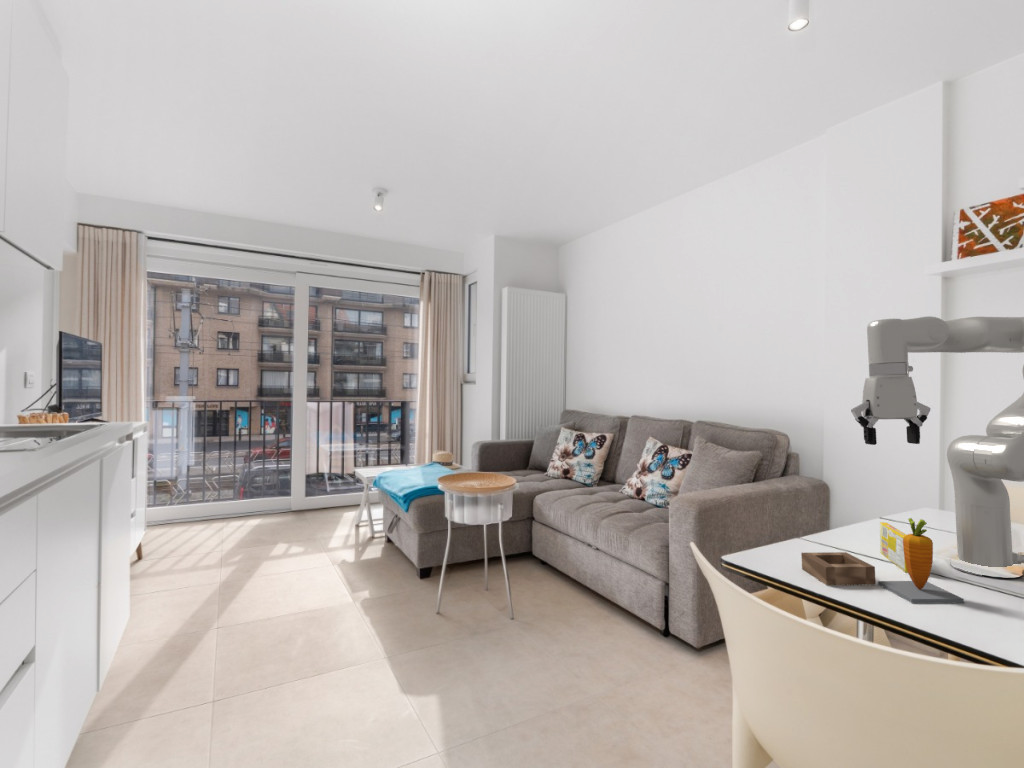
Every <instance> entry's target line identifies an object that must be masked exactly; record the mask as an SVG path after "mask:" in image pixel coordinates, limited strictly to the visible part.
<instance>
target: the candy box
mask: <svg viewBox="0 0 1024 768" xmlns="http://www.w3.org/2000/svg"><path fill="white" fill-rule="evenodd" d="M906 535H907V534H906V533H905V532H903V531H901V530H899V529H898V528H896V527H894V526H893V525H891V524H889V523H888V522H881V521H879V543H880V544H879V550H880V551H879V553H880V554H881V555H883V556H884V557H885V558H886V559H888V560H889V561H890V562H892V563H893V564H894V565H895V566H896V567H898V568H899V569H900V570H901V571H903V572H904V573H905V574H909V573H908V570H907V567H906V563H905V558H904V548H903V538H904V537H905V536H906Z"/></svg>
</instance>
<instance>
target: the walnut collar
mask: <svg viewBox="0 0 1024 768" xmlns="http://www.w3.org/2000/svg"><path fill="white" fill-rule="evenodd" d="M800 556H801V569H802V570H803V572H805V573H807V574H809V575H810V576H812V577H813V578H814V579H816V580H818V581H820V582H821V583H823V584H824V585H825V586H876V585H877V584H876V583H877V582H876V567H875V566H874V565H872V564H870V563H868V562H866V561H864V560H862V559H860V558H858V557H857V556H854V555H852V554H851V553H848V552H846V551H843V552H841V551H839V552H838V551H837V552H834V551H831V552H829V551H827V552H825V551H824V552H801V555H800Z"/></svg>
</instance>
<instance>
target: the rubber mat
mask: <svg viewBox="0 0 1024 768" xmlns="http://www.w3.org/2000/svg"><path fill="white" fill-rule="evenodd" d="M877 583H878V586H880V587H881V588H884V589H885V590H888V591H889V592H891V593H892V594H895V595H896V596H899V597H900V598H901V599H903V600H905V601H907V602H909V603H911V604H964V602H965V599H964V598H963V597H960V596H959V595H957V594H954V593H952V592H950V591H948V590H945V589H944V588H941V587H939V586H937V585H935V584H934V583H931V582H929V581H927V582H926V584H925V585H924V587H923V588H922V589H920V590H919V589H918V588H917V587H916V586H915V585H914V583H913V581H912V580H878V581H877Z"/></svg>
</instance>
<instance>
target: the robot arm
mask: <svg viewBox="0 0 1024 768" xmlns="http://www.w3.org/2000/svg"><path fill="white" fill-rule="evenodd" d="M866 327H867V328H866V335H867V337H866V338H867V354H868V375H869V376H868V377H866V378H865V380H864V384H863V389H862V390H863V391H862V401H861V402H862V403H861V404H859V405H857V406H855V407H853V408H851V410H850V411H851V412H850V413H851V414H852V416H853V417H854V420H855V421H856V422H857V423H858V424H859V425H860V427H862V428H863V441H864V443H865V444H866V445H872V446H873V445H877V444H878V443H877V441H878V440H877V429H876V427H874V426H875V425H876V423H877V422H878V421H879V420H904V422H906V424H908V426H906V428H905V429H906V442H907V443H908V444H914V445H920V442H921V427H923V424H924V422H925V421H927V420H928V415H930V414H929V413H930V412H931V407H930V406H928V405H926V404H923V403H921V402H919V401H918V399H917V398H918V397H917V392H916V388H915V384H914V381H913V377H912V376H910V375H909V374H910V372H913V371H914V367H913V366H912V365H909V354H910V353H911V354H912V353H952V354H953V353H954V354H955V353H956V354H957V353H961V354H963V353H964V354H965V353H1006V354H1007V353H1010V354H1011V353H1012V354H1013V353H1017V354H1020V353H1021V354H1023V353H1024V316H972V317H963V318H962V317H961V318H956V319H951V320H943V319H941V318H939V317H936V316H921V317H914V318H907V319H903V318H902V319H901V318H884V319H877V320H872V321H870V322H869V323H868V324H867V326H866ZM1022 378H1023V379H1024V365H1023V367H1022ZM918 411H919V412H918ZM985 434H986V435H979V434H975V435H974V434H970V435H969V434H968V435H962V436H960V437H957V438H955V439H953V440H952V441H951V442H950V443H949V445H948V447H947V450H946V458H947V459H946V460H947V462H948V466H949V470H950V471H951V472H950V473H951V476H952V480H953V481H952V482H953V488H954V489H953V490H954V510H955V513H954V514H955V528H956V542H957V543H956V545H957V547H956V549H957V557H959V559H960V560H962V561H965V562H968V563H971V564H977V565H981V566H988V567H1007V566H1012V565H1013V564H1020V565H1021V564H1024V554H1018V553H1016V552H1013V540H1012V538H1013V537H1012V522H1011V521H1012V519H1011V501H1010V500H1011V499H1010V495H1009V491H1008V489H1007V487H1006V485H1005V484H1004V482H1003V480H1004V481H1009V482H1010V481H1011V482H1019V483H1021V482H1024V392H1023V393H1022V394H1021V396H1019V397H1018V398H1016V400H1015V401H1013V402H1012V403H1011V404H1009V405H1008V406H1007V407H1006V408H1004V409H1003V410H1002V411H1000V412H999V413H998V414H997V415H995V416H993V418H992V419H990V421H989V422H988V424H987V425H986V428H985ZM951 567H952V568H954V569H956V570H959V571H961V572H964V573H968V574H971V575H975V576H981V577H983V576H982V575H979V574H975V573H972V572H968V571H964V570H961V569H958V568H955V567H953V566H951Z"/></svg>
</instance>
